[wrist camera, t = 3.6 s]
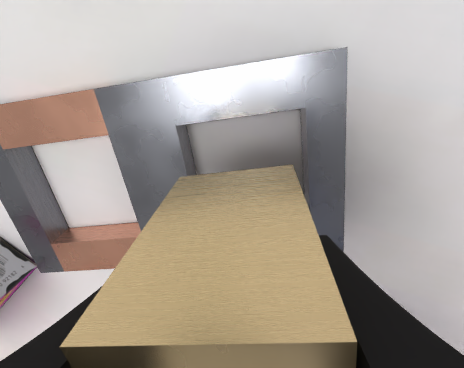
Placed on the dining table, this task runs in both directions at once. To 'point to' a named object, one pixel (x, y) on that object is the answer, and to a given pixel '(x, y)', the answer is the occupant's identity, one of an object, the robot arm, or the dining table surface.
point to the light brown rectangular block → (220, 284)
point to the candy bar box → (12, 270)
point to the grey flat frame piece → (168, 147)
